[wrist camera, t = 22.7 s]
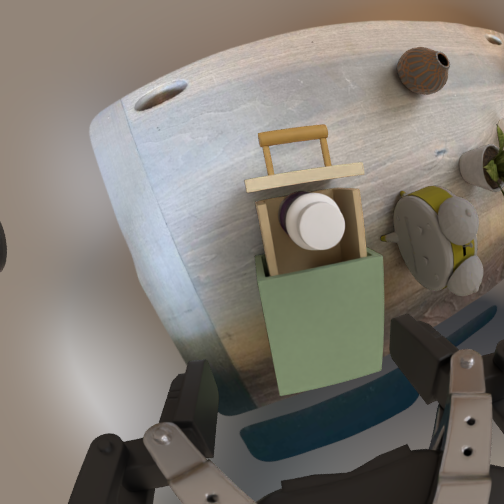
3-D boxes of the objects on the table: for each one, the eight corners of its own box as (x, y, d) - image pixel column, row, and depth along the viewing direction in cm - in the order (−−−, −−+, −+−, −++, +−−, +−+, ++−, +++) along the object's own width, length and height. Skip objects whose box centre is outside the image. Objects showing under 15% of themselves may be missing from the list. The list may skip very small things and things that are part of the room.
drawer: (237, 144, 31) (234, 131, 23) (330, 130, 30) (353, 116, 23) (265, 289, 35) (270, 316, 27) (351, 271, 35) (375, 293, 27)
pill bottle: (274, 234, 32) (286, 254, 23) (280, 188, 31) (295, 189, 21) (319, 239, 32) (346, 261, 23) (326, 194, 31) (357, 199, 22)
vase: (428, 105, 30) (464, 93, 21) (390, 88, 30) (423, 69, 21) (427, 69, 28) (460, 51, 20) (390, 51, 28) (419, 27, 20)
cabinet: (254, 255, 35) (257, 281, 25) (350, 237, 34) (382, 255, 25) (273, 352, 38) (279, 396, 29) (356, 333, 38) (381, 370, 29)
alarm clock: (424, 258, 35) (492, 293, 21) (388, 276, 36) (451, 322, 21) (407, 182, 33) (483, 187, 18) (367, 197, 33) (438, 208, 19)
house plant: (445, 227, 34) (524, 252, 18) (424, 137, 31) (506, 124, 15) (495, 202, 33) (563, 216, 17) (477, 125, 30) (547, 116, 14)
